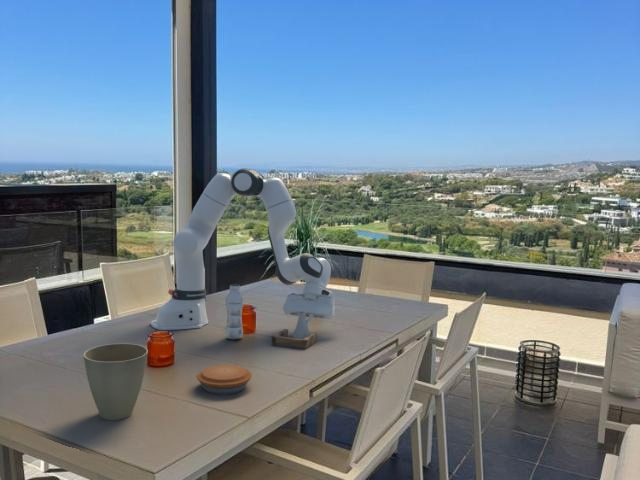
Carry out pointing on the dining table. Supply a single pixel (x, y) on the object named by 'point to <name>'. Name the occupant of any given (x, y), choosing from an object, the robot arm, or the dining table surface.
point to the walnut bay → (293, 340)
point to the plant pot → (115, 377)
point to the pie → (224, 379)
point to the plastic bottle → (234, 313)
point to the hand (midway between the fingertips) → (303, 325)
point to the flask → (301, 327)
